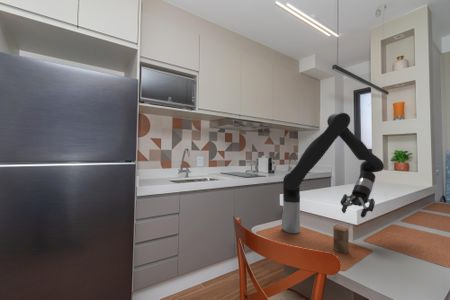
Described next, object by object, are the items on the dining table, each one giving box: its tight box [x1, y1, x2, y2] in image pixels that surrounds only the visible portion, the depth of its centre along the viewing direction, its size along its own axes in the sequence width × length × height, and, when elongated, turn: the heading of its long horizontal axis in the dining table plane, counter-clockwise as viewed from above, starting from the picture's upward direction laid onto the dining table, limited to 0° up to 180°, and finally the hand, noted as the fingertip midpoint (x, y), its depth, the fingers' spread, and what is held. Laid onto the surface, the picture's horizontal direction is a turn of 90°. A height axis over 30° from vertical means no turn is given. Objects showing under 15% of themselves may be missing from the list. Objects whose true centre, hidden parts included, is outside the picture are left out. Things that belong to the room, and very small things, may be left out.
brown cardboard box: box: [332, 224, 350, 255], centre depth 95 cm, size 5×4×11 cm
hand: (352, 214), depth 102 cm, fingers open, 8 cm apart
